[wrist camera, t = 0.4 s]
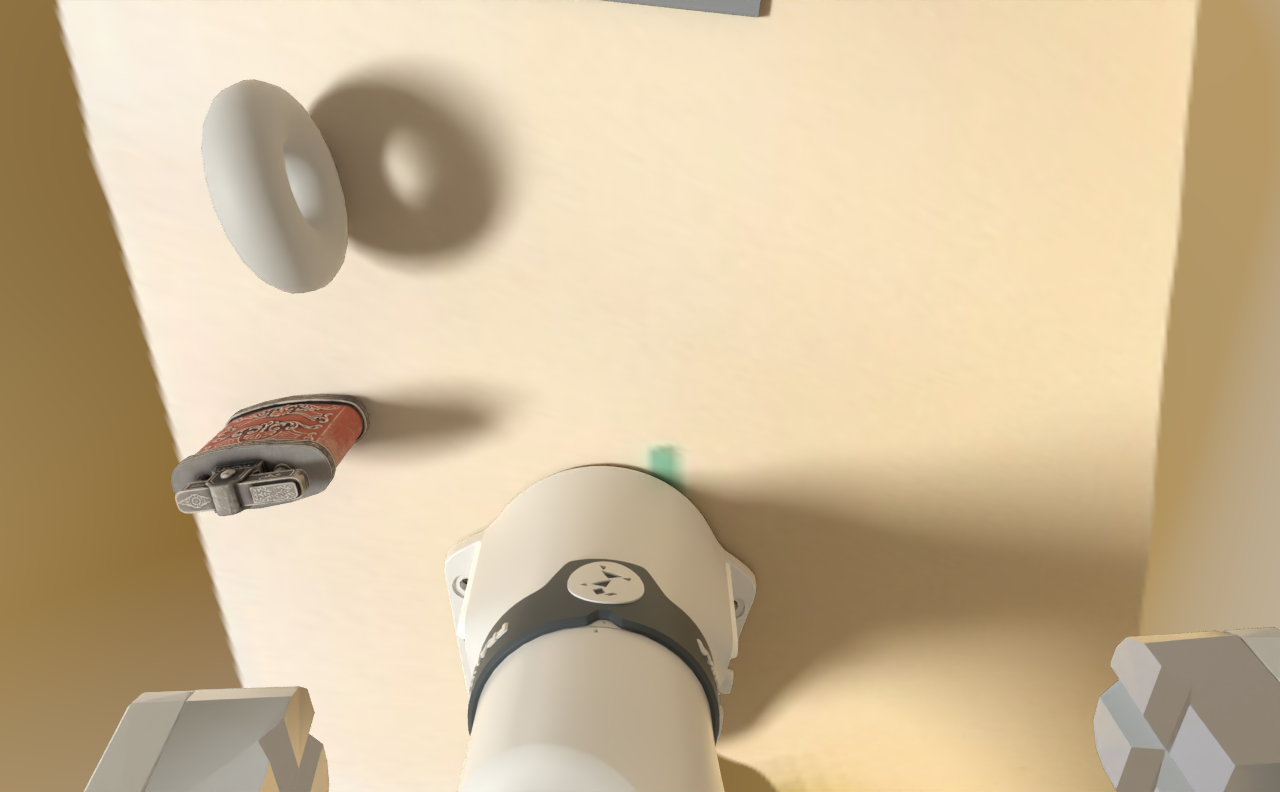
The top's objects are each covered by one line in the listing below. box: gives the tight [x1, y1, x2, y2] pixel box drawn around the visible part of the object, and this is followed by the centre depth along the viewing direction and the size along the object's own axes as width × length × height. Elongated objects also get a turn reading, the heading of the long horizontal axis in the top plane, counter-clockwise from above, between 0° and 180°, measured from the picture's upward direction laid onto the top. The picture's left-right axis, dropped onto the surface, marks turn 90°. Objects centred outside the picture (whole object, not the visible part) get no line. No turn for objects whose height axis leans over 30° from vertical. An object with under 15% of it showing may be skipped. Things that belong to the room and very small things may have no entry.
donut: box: [201, 80, 348, 293], centre depth 44 cm, size 10×3×10 cm, turn 12°
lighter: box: [171, 394, 370, 516], centre depth 49 cm, size 8×3×10 cm, turn 98°
